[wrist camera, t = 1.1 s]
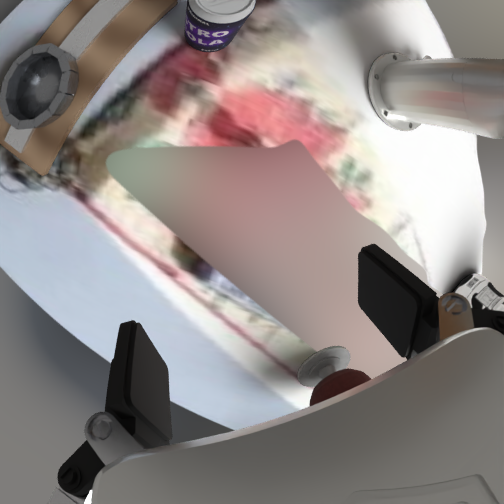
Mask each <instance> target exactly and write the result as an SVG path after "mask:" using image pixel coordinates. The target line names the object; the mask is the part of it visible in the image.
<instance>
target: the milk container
mask: <svg viewBox="0 0 504 504" xmlns="http://www.w3.org/2000/svg"><path fill="white" fill-rule="evenodd" d="M453 293H458V294H460V295H463V296H464V297H465V298H466V299H467V300H468V301H469V303H470V306H471V308H479V309H487V310H497V311H503V312H504V295H502V294H501V293H500V292H498V291H497V290H496V289H495V288H494V286H493V285H492V283H491V282H490V281H489V280H488V279H487V278H486V277H484V276H482V275H480V274H471V275H469V276H467V277H466V278H465V279H464V280H463V281H462V282H461V283H460V284H459V285H458V286H457V288H456V289H455V290H454V292H453Z"/></svg>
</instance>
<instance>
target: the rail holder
mask: <svg viewBox="0 0 504 504" xmlns="http://www.w3.org/2000/svg"><path fill="white" fill-rule="evenodd" d="M133 1H134V0H100V1H99V2H98V3H97V4H96V5H95V6H94V7H93V8H92V9H91V10H90V11H89V12H88V13H87V14H86V15H85V16H84V17H83V19H82V20H81V21H80V22H79V23H78V24H77V25H76V27H75V28H74V29H73V30H72V31H71V33H70V34H69V35H68V36H67V37H66V39H65V40H64V41H63V43H62V44H61V45H60V46H59V47H57V46H55V45H54V44H52V43H48V44H42V45H37V46H33V47H31V48H30V49H28V50H27V51H26V52H24V53H23V54H22V55H20V56H19V57H18V58H17V59H16V61H14V62H13V64H12V66H11V67H10V69H9V70H8V72H7V74H6V76H5V77H4V79H3V80H5V81H3V82H2V88H1V93H0V107H1V111H2V114H3V118H4V119H5V121H6V122H7V123H9V124H10V125H11V127H10V129H9V131H8V133H7V135H6V138H5V140H4V141H5V142H7V143H8V144H9V145H11V146H12V147H13V148H14V149H16V150H17V151H18V152H20V153H23V152H24V151H25V149H26V147H27V144H28V142H29V140H30V138H31V136H32V134H33V132H34V131H35V129H36V128H41V127H45V126H47V125H49V124H51V123H53V122H54V121H56V120H57V119H58V118H60V117H61V116H62V115H63V114H64V112H65V111H66V110H67V109H68V107H69V106H70V104H71V103H72V101H73V99H74V97H75V94H76V91H77V88H78V83H79V69H78V65H77V63H78V61H79V60H80V59H81V57H82V56H83V55H84V54H85V52H86V51H87V50H88V49H89V47H90V46H91V45H92V44H93V43H94V41H95V40H96V39H97V38H98V37H99V36H100V34H101V33H102V32H103V31H104V30H105V29H106V28H107V27H108V26H109V24H110V23H111V22H112V21H113V20H114V19H115V18H116V17H117V16H118V15H119V14H120V13H121V12H122V11H123V10H124V9H125V8H126V7H127V6H128V5H129V4H130V3H131V2H133Z"/></svg>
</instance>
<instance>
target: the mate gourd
mask: <svg viewBox="0 0 504 504" xmlns="http://www.w3.org/2000/svg"><path fill="white" fill-rule="evenodd" d="M349 361H350V353H349V351H348V350H347V349H346V348H344V347H342V346H333V347H328V348H325V349H323V350H320V351H318V352H316V353H315V354H313V355H312V356H310V357H309V358H308V359H307V360H306V361H305V362H304V363H303V364H302V365H301V367H300V368H299V370H298V374H297V377H298V380H299V382H300V383H301V384H302V385H303V386H307V387H315V388H314V390H313V392H312V396H311V399H310V406H313V405H315V404H318V403H320V402H323V401H325V400H327V399H330V398H332V397H335V396H337V395H339V394H341V393H344V392H346V391H348V390H350V389H352V388H355V387H357V386H359V385H361V384H363V383H365V382H367V381H369V380H371V378H370V377H369V376H368V375H366V374H365V373H364V372H362V371H358V370H353V369H346V367H347V366H348V364H349Z"/></svg>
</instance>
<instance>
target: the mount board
mask: <svg viewBox="0 0 504 504" xmlns="http://www.w3.org/2000/svg"><path fill="white" fill-rule="evenodd" d="M99 1H100V0H72V1H71V2H70V3H69V4H68V6H67V7H66V8H65V9H64V10H63V11H62V12H61V13H60V15H59V16H58V17H57V18H56V19H55V21H54V22H53V23H52V24H51V25H50V27H49V28H48V29H47V31H46V32H45V33H44V34H43V36H42V37H41V38H40V40H39V41H38V43H37V44H36V45H35V46H37V45H42V44H48V43H52V44H54V45H55V46H57V47H59V46H60V45H61V44H62V43H63V41H64V40H65V39H66V37H67V36H68V35H69V34H70V33H71V31H72V30H73V29H74V28H75V27H76V25H77V24H78V23H79V22H80V21H81V20H82V19H83V17H84V16H85V15H86V14H87V13H88V12H89V11H90V10H91V9H92V8H93V7H94V6H95V5H96V4H97V3H98V2H99ZM175 5H177V0H134V1H133V2H131V3H130V4H129V5H128V6H127V7H126V8H125V9H124V10H123V11H122V12H121V13H120V14H119V15H118V16H117V17H116V18H115V19H114V20H113V21H112V22H111V23H110V24H109V26H108V27H107V28H106V29H105V30H104V31H103V32H102V33H101V34H100V36H99V37H98V38H97V39H96V40H95V41H94V43H93V44H92V45H91V46H90V47H89V49H88V50H87V51H86V52H85V54H84V55H83V56H82V57H81V59H80V60H79V61H78V63H77V65H78V69H79V83H78V88H77V91H76V94H75V97H74V99H73V101H72V103H71V104H70V106H69V107H68V109H67V110H66V111H65V112H64V114H63V115H62V116H61V117H60V118H58V119H57V120H56V121H54V122H53V123H51V124H49V125H47V126H45V127H41V128H36V129H35V131H34V132H33V134H32V136H31V138H30V140H29V142H28V144H27V147H26V149H25V151H24V152H23V153H20V152H18V151H17V150H16V149H14V148H13V147H12V146H11V145H9V144H8V143H7V142H5V141H4V140H5V138H6V135H7V133H8V131H9V129H10V127H11V125H10V124H9V123H7V122H6V121H5V119H4V118H3V114H2V111H1V107H0V144H1V145H3V146H4V147H5V148H6V149H8V150H9V151H10V152H12V153H13V154H14V155H15V156H17V157H18V158H19V159H21V160H22V161H23V162H24V163H26V164H27V165H28V166H30V167H31V168H32V169H34V170H35V171H36V172H38V173H39V174H41V175H42V176H44V175H46V174H48V172H49V170H50V168H51V166H52V164H53V162H54V160H55V158H56V156H57V154H58V152H59V150H60V149H61V147H62V145H63V143H64V142H65V140H66V138H67V136H68V135H69V133H70V131H71V130H72V128H73V126H74V125H75V123H76V122H77V120H78V118H79V117H80V115H81V114H82V112H83V111H84V109H85V108H86V106H87V105H88V103H89V102H90V100H91V99H92V98H93V96H94V95H95V93H96V92H97V91H98V89H99V88H100V87H101V85H102V84H103V83H104V81H105V80H106V79H107V77H108V76H109V75H110V74H111V72H112V71H113V70H114V69H115V67H116V66H117V65H118V64H119V63H120V61H121V60H122V59H123V58H124V57H125V56H126V54H127V53H128V52H129V51H130V50H131V49H132V48H133V47H134V45H135V44H136V43H137V42H138V41H139V40H140V39H141V38H142V37H143V36H144V35H145V34H146V33H147V32H148V31H149V30H150V29H151V28H152V27H153V26H154V25H155V24H156V23H157V22H158V21H159V20H160V19H161V18H162V17H163V16H164V15H165V14H167V13H168V12H169V11H170V10H171V9H172V8H173V7H174V6H175Z"/></svg>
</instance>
